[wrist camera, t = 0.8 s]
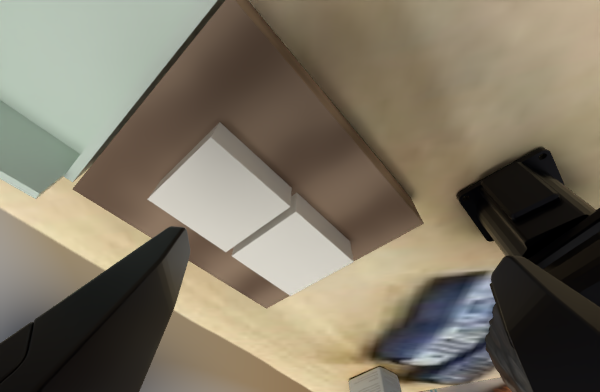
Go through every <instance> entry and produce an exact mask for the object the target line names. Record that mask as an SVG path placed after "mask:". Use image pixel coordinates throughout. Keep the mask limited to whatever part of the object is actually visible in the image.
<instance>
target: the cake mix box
mask: <svg viewBox="0 0 600 392" xmlns="http://www.w3.org/2000/svg"><path fill="white" fill-rule="evenodd" d="M421 392H512V391H511V390H510V389H509V388H508V387H507V385H506V384H505V383H504V382H503V380H502V378H501V377H500V378H495V379H489V380H483V381H478V382H472V383H466V384H461V385H455V386H449V387H444V388H438V389H432V390H427V391H421Z"/></svg>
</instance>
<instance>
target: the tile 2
mask: <svg viewBox="0 0 600 392" xmlns="http://www.w3.org/2000/svg"><path fill="white" fill-rule="evenodd" d="M232 257H234V258H235V259H237V260H238V261H239V262H241V263H242V264H244V265H245V266H247V267H248V268H250V269H251V270H253V271H254V272H256V273H257V274H259V275H260V276H262V277H263V278H265V279H266V280H268V281H269V282H271V283H272V284H274V285H275V286H276V287H278V288H279V289H281V290H282V291H284V292H285V293H287V294H288V295H290V296H291V295H293V294H295V293H297V292H299V291H301V290H302V289H304V288H306V287H308V286H310V285H312V284H314V283H315V282H317V281H319V280H321V279H323V278H325V277H327V276H328V275H330V274H332V273H334V272H336V271H338V270H340V269H341V268H343V267H345V266H347V265H349V264H351V263H353V262H354V261H353V255H352V250H351V244H350V241H349V240H348V239H347V238H346V237H345V236H344V235H343V234H341V233H340V232H339V231H338V230H337V229H336V228H335V227H334V226H333V225H332V224H331V223H329V222H328V221H327V220H326V219H325V218H324V217H323V216H322V215H321V214H320V213H319V212H317V211H316V210H315V209H314V208H313V207H312V206H311V205H310V204H309V203H308V202H307V201H305V200H304V199H303V198H302V197H301V196H300V195H299V194H298V193H295V194H294V195H293V196H291V207H289V208H288V209H287V210H285V211H284V212H282V213H281V214H280V215H278V216H277V217H275V218H274V219H272V220H271V221H270V222H268V223H267V224H265V225H264V226H262V227H261V228H260V229H258V230H257V231H255V232H254V233H253V234H251V235H250V236H248V237H247V238H245V239H244V240H243V241H241V242H240V243H238V244H237V245H236V246H234V248H233V252H232Z"/></svg>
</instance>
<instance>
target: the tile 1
mask: <svg viewBox="0 0 600 392" xmlns="http://www.w3.org/2000/svg"><path fill="white" fill-rule="evenodd" d="M291 190H292V188H291V187H290V186H289V185H288V184H287V183H286V182H285V181H284V180H283V179H281V178H280V177H279V176H278V175H277V174H276V173H275V172H274V171H273V170H272V169H271V168H269V167H268V166H267V165H266V164H265V163H264V162H263V161H262V160H261V159H260V158H259V157H257V156H256V155H255V154H254V153H253V152H252V151H251V150H250V149H249V148H248V147H247V146H245V145H244V144H243V143H242V142H241V141H240V140H239V139H238V138H237V137H236V136H235V135H233V134H232V133H231V132H230V131H229V130H228V129H227V128H226V127H225V126H224V125H223V124H221V123H220V122H219V123H218V124H217V125H216V126H215V127H214V128H213V129H212V130H211V131H210V132H209V133H208V134H207V135H206V136H205V137H204V138H203V139H202V140H201V141H200V142H199V143H198V144H197V145H196V146H195V147H194V148H193V149H192V150H191V151H190V152H189V153H188V154H187V155H186V156H185V157H184V158H183V159H182V160H181V161H180V162H179V163H178V164H177V165H176V166H175V167H174V168H173V169H172V170H171V171H170V172H169V173H168V174H167V175H166V176H165V177H164V178H163V179H162V180H161V181H160V182H159V184H158V185H157V187H156V188H155V189H154V191H153V192H152V193H151V195H150V196H149V198H148V200H149V201H151V202H152V203H154V204H155V205H157V206H158V207H160V208H161V209H162V210H164V211H165V212H167V213H168V214H170V215H171V216H173V217H174V218H176V219H177V220H179V221H180V222H182V223H183V224H185V225H186V226H188V227H189V228H191V229H192V230H194V231H195V232H197V233H198V234H199V235H201V236H202V237H204V238H205V239H207V240H208V241H210V242H211V243H213V244H214V245H216V246H217V247H219V248H220V249H222V250H223V251H225V252H227V251H228V250H230V249H231V248H233V247H234V246H236V245H237V244H238V243H240V242H241V241H243V240H244V239H245V238H247V237H248V236H250V235H251V234H253V233H254V232H255V231H257V230H258V229H260V228H261V227H262V226H264V225H265V224H267V223H268V222H270V221H271V220H272V219H274V218H275V217H277V216H278V215H280V214H281V213H282V212H284V211H285V210H287V209H288V208H289V207H291Z"/></svg>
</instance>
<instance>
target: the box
mask: <svg viewBox="0 0 600 392" xmlns="http://www.w3.org/2000/svg"><path fill="white" fill-rule="evenodd" d="M224 1H225V0H0V179H1V180H3V181H5V182H7V183H8V184H10V185H12V186H14V187H15V188H17V189H19V190H21V191H22V192H24V193H26V194H28V195H29V196H31V197H33V198H35V199H36V198H38V197H39V196H40V195H41V194H43V193H44V192H45V191H46V190H48V189H49V188H50V187H51V186H52V185H54V184H55V183H56V182H57V181H59V180H60V179H61V178H62V177H65V178H67V179H68V180H70V181H72V182H74V181H75V180H76V179H77V178H78V177H79V176H80V175H82V174H83V173H84V172H85V171H86V170H87V169H89V168H90V167H91V166H92V164H93V163H94V162H95V161H96V159H97V158H98V157H99V156H100V155H101V153H102V152H103V151H104V150H105V148H106V147H107V146H108V145H109V143H110V142H111V141H112V140H113V138H114V137H115V136H116V135H117V134H118V132H119V131H120V130H121V129H122V127H123V126H124V125H125V124H126V122H127V121H128V120H129V119H130V117H131V116H132V115H133V114H134V113H135V111H136V110H137V109H138V108H139V106H140V105H141V104H142V103H143V101H144V100H145V99H146V98H147V96H148V95H149V94H150V93H151V92H152V90H153V89H154V88H155V87H156V85H157V84H158V83H159V82H160V80H161V79H162V78H163V77H164V75H165V74H166V73H167V72H168V71H169V69H170V68H171V67H172V66H173V64H174V63H175V62H176V61H177V59H178V58H179V57H180V56H181V54H182V53H183V52H184V51H185V50H186V48H187V47H188V46H189V45H190V43H191V42H192V41H193V40H194V38H195V37H196V36H197V35H198V33H199V32H200V31H201V30H202V29H203V27H204V26H205V25H206V24H207V22H208V21H209V20H210V19H211V17H212V16H213V15H214V14H215V12H216V11H217V10H218V9H219V8H220V6H221V5H222V4H223V3H224Z"/></svg>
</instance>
